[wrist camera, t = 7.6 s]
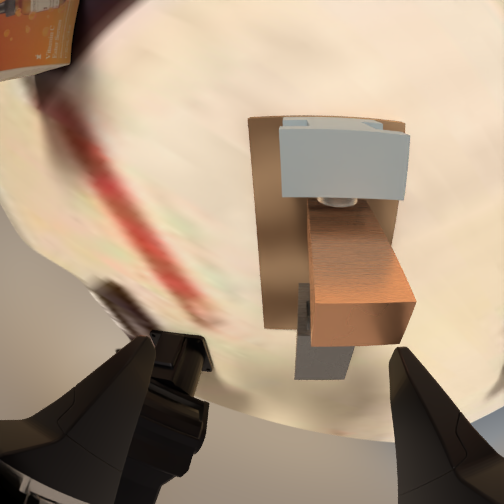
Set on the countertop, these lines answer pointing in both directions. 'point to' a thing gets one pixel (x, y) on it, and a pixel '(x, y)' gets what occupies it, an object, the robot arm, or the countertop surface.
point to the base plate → (290, 222)
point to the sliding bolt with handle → (353, 277)
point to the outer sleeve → (316, 348)
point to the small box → (35, 36)
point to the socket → (342, 158)
